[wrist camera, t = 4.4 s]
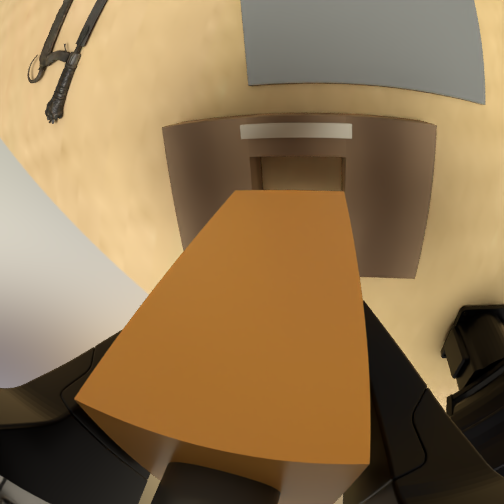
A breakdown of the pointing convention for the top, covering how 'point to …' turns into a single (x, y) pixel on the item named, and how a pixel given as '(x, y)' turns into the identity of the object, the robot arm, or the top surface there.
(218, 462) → the plug
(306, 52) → the mat
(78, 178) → the top surface
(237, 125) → the socket block
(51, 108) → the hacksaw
